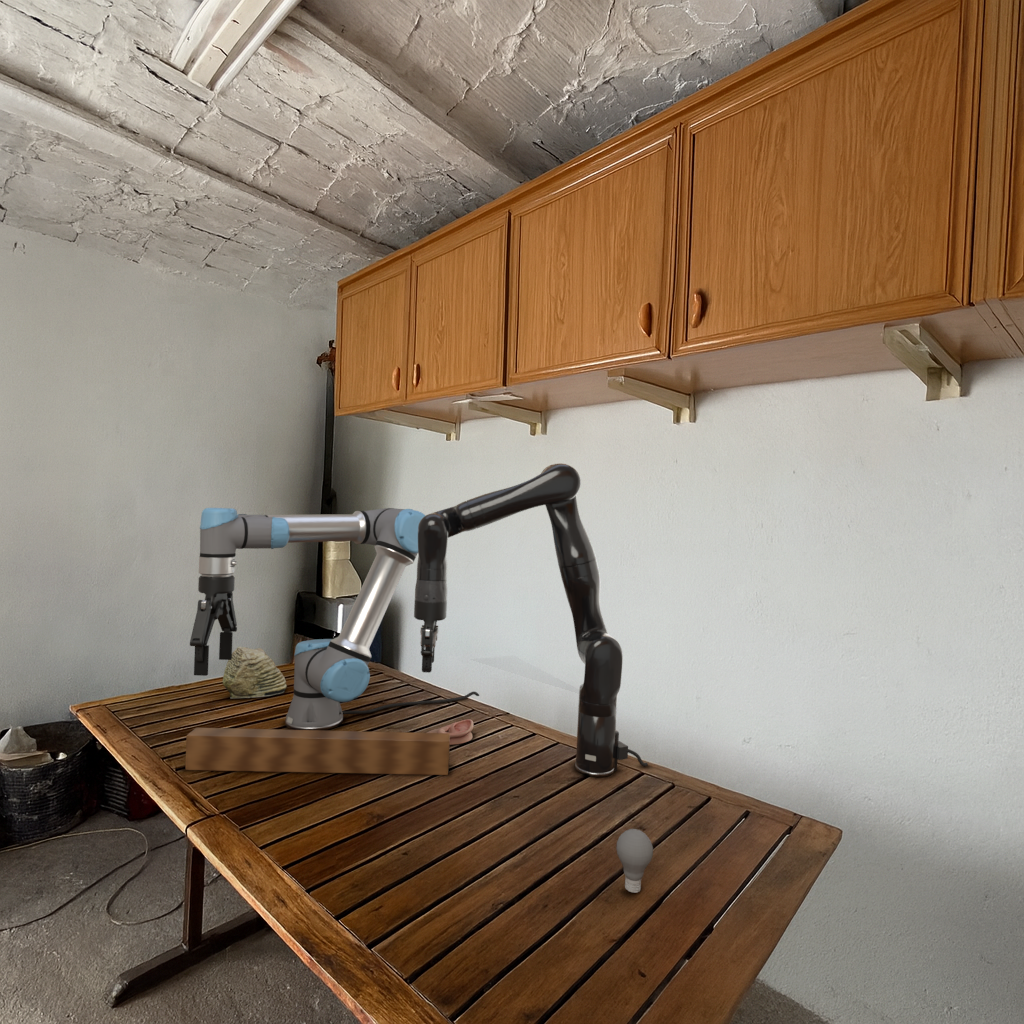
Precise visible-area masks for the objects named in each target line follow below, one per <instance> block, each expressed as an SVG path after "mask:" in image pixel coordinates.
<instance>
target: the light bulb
mask: <svg viewBox="0 0 1024 1024" xmlns="http://www.w3.org/2000/svg"><path fill="white" fill-rule="evenodd" d="M615 849H616V854H617V857H618V859H619V861H620V863H621V865H622V867H623V873H624V874H623V875H624V876H625V878H624V888H625V890H627V891H628V892H630V893H634V894H635V893H639V892H640V891H641V889H642V887H641V886H642V879H643V877H644V875H645V871H646V868H647V867H648V866H649V864H650V863H651V861H652V859H653V855H654V847H653V843H652V841H651V838H649V836H648V835H647V834H646V833H645V832H643V831H642V830H641V829H636V828H629V829H627V830H625V831H623V832H622V833H621V834H620V835H619V837H618V839H617V841H616V847H615Z"/></svg>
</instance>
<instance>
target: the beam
mask: <svg viewBox="0 0 1024 1024" xmlns="http://www.w3.org/2000/svg"><path fill="white" fill-rule="evenodd" d="M185 742H186V744H185V771H214V772H215V771H216V772H217V771H218V772H219V771H220V772H222V771H223V772H270V773H271V772H274V773H275V772H276V773H321V774H322V773H323V774H371V775H373V774H376V775H378V774H379V775H422V776H423V775H426V776H427V775H428V776H429V775H430V776H431V775H432V776H449V767H450V749H451V747H450V746H451V745H450V733H427V732H406V731H405V732H402V731H365V730H364V731H359V730H325V731H321V730H292V729H277V728H275V729H274V728H273V729H272V728H271V729H270V728H235V727H234V728H232V727H231V728H230V727H229V728H228V727H227V728H226V727H195V728H194V729H193V730H192V731H190V732H189V733H187V735H186V741H185Z"/></svg>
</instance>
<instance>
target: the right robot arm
mask: <svg viewBox="0 0 1024 1024" xmlns="http://www.w3.org/2000/svg"><path fill="white" fill-rule="evenodd" d="M581 481H582V479H581V475H580V474H579V472H578V471H577V470H576V469H575V468H574V467H573V466H571V465H569V464H567V463H553V464H550V465H548V466H546V467H545V468H543V470H542V471H541V473H539V474H537V475H536V476H534V477H533V478H530V479H528V480H526V481H524V482H521V483H519V484H516V485H513V486H509V487H506V488H502V489H499V490H495V491H491V492H488V493H484V494H481V495H478V496H475V497H472V498H470V499H467V500H465V501H462V502H460V503H458V504H456V505H454V506H451V507H448V508H444V509H441V510H438V511H434V512H431V513H428V514H425V515H426V516H424V517H423V518H422V519H421V521H420V522H419V525H418V554H417V557H418V558H417V562H416V563H417V564H416V582H415V586H414V604H413V605H414V606H413V617H414V618H415V619H416V620H418V621H423V624H422V625H421V627H420V646H421V648H420V655H421V672H422V673H428V674H429V673H431V672H432V670H433V664H434V662H435V649H436V645H437V641H438V634H439V625H437V624H438V622H439V621H443V620H445V619H446V618H447V609H448V608H447V607H448V606H447V605H448V580H447V579H448V558H447V554H448V553H447V551H448V539H449V538H452V537H454V536H457V535H458V534H461V533H464V532H470V531H471V532H472V531H474V530H477V529H479V528H480V529H481V528H483V527H485V526H488V525H491V524H493V523H496V522H497V521H498V522H499V521H501V520H504V519H506V518H508V517H511V516H514V515H515V514H518V513H521V512H524V511H528V510H531V509H534V508H538V507H542V506H545V508H546V511H547V514H548V518H549V521H550V524H551V529H552V537H553V543H554V549H555V554H556V555H555V556H556V559H557V565H558V568H559V574H560V577H561V581H562V584H563V588H564V593H565V596H566V599H567V603H568V605H569V609H570V612H571V616H572V621H573V628H574V635H575V642H576V649H577V650H576V651H577V654H578V657H579V659H580V660H581V662H582V663H583V664H584V675H583V682H582V684H581V685H580V686H579V688H578V708H577V729H576V731H577V732H576V747H575V748H576V751H575V763H574V764H575V765H574V768H575V770H576V771H577V772H578V773H581V774H582V775H585V776H589V777H595V778H598V777H599V778H603V777H609V776H611V775H613V774H614V773H615V772H617V771H618V763H619V762H618V761H622V760H627V759H628V756H629V754H631V755H632V756H634V757H635V758H636V759H637V761H638V763H639V764H640V765H641V766H642V767H648V765H649V764H648V762H644V761H643V760H642V758H641V756H640V755H639V753H637V752H636V751H634V750H632V749H629V746H628V745H627V744H625V743H623V742H622V741H620V732H619V731H618V730H617V711H618V709H617V708H618V695H619V692H620V689H621V685H622V676H623V664H624V655H623V648H622V646H621V644H620V642H619V641H618V640H617V639H616V638H614V637H613V636H612V635H610V634H609V632H608V629H607V628H606V624H605V621H604V617H603V615H602V610H601V609H602V608H601V574H600V568H599V564H598V560H597V556H596V552H595V549H594V546H593V543H592V542H591V539H590V537H589V534H588V532H587V530H586V528H585V526H584V524H583V521H582V519H581V515H580V510H579V505H578V499H577V495H578V493H579V491H580V489H581V486H582V485H581V484H582V482H581Z"/></svg>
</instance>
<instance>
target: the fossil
mask: <svg viewBox="0 0 1024 1024" xmlns="http://www.w3.org/2000/svg"><path fill="white" fill-rule="evenodd" d="M222 676H223V677H222V685H223V687H224V688H225V690H226V691H228V693H229V698H230V699H250V698H264V697H271V696H275V695H281V694H284V693H285V691H286V689H287V687H288V686H287V680H286V678H285V676H284V674H283V673H282V672H281V669H279V668H278V667H277V665H276V663H275V662H274V660H273V659H272V658H271V657H270V656H269V655H268V654H267V653H266V652H265V650H264V649H263V648H260V647H258V648H251V647H247V646H246V647H245V646H238V647H237V648H236V649H235V650H233V651H232V659H231V660H227V663H226V666H225V668H224V671H223V675H222Z"/></svg>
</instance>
